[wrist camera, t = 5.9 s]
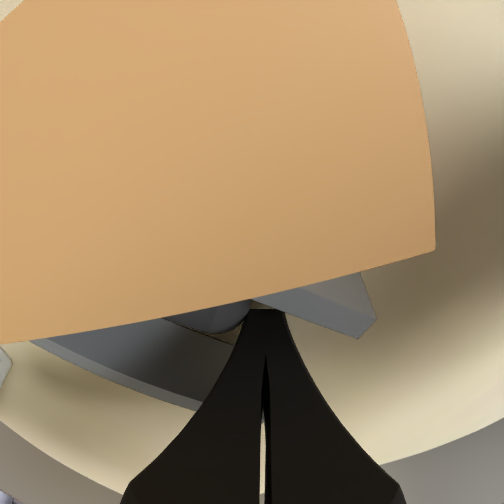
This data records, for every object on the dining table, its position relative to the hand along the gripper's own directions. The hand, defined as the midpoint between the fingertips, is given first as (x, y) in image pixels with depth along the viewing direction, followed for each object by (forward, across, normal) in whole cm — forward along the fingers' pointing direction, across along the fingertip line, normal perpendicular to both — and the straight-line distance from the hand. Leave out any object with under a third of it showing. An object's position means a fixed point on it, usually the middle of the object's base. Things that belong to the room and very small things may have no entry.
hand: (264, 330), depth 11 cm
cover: (-2, +4, -6) cm, 8 cm away
